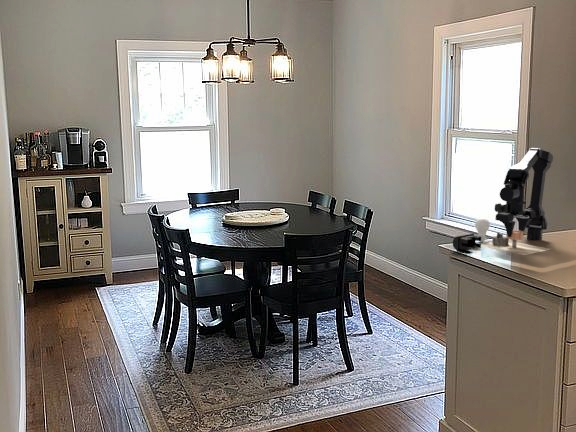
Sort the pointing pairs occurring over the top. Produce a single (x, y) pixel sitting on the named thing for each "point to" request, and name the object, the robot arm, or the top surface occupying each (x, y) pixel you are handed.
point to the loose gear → (516, 235)
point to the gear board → (518, 248)
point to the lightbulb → (482, 227)
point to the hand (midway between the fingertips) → (514, 235)
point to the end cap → (466, 243)
